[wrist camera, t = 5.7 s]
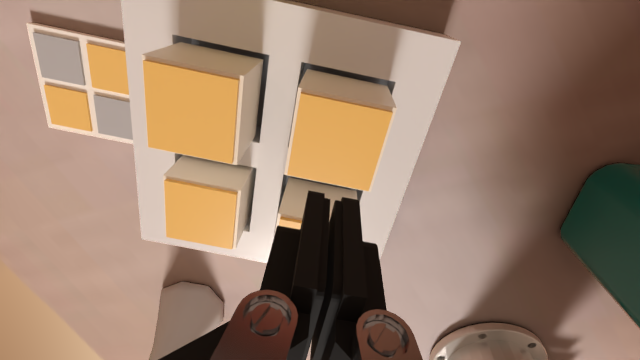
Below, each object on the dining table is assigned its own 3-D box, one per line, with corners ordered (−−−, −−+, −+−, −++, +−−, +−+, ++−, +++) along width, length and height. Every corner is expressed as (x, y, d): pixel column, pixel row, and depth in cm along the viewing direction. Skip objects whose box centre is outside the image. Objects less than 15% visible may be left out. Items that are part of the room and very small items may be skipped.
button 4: (256, 160, 27) (239, 192, 22) (250, 213, 29) (234, 252, 25) (191, 146, 27) (160, 177, 22) (190, 201, 29) (163, 238, 25)
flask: (152, 281, 37) (93, 371, 28) (214, 277, 36) (173, 368, 28) (175, 325, 41) (129, 417, 32) (233, 322, 40) (201, 416, 31)
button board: (443, 33, 23) (460, 41, 20) (368, 252, 33) (371, 283, 30) (152, -30, 23) (118, -34, 19) (163, 212, 32) (141, 239, 29)
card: (142, 45, 25) (136, 47, 24) (148, 143, 29) (144, 147, 28) (32, 22, 25) (23, 23, 24) (53, 124, 29) (46, 128, 28)
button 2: (356, 190, 26) (359, 232, 21) (341, 243, 28) (341, 290, 24) (288, 177, 25) (277, 216, 21) (279, 231, 28) (267, 276, 24)
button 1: (387, 85, 22) (397, 109, 17) (366, 158, 24) (370, 194, 20) (307, 68, 22) (297, 88, 17) (294, 143, 24) (283, 177, 20)
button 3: (263, 59, 21) (242, 77, 17) (255, 135, 24) (235, 167, 20) (181, 41, 21) (138, 55, 17) (181, 120, 24) (144, 149, 19)
